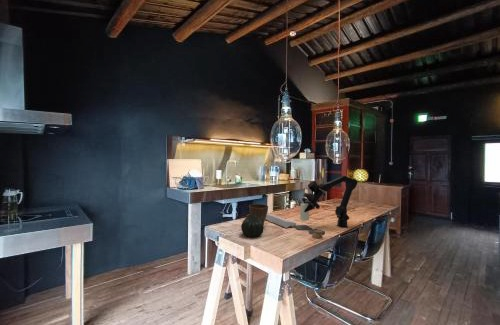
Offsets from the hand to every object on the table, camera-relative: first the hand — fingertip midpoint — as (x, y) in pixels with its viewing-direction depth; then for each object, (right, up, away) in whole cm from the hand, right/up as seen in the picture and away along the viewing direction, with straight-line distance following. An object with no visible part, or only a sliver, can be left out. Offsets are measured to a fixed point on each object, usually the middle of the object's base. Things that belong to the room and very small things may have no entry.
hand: (303, 211), depth 187 cm
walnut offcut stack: (+6, -14, -19) cm, 24 cm away
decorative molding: (-17, -12, +17) cm, 27 cm away
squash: (-39, -13, -18) cm, 45 cm away
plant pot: (-34, -13, +3) cm, 36 cm away
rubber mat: (0, -13, +3) cm, 14 cm away
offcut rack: (+8, -14, -10) cm, 19 cm away
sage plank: (+1, -7, +1) cm, 7 cm away
